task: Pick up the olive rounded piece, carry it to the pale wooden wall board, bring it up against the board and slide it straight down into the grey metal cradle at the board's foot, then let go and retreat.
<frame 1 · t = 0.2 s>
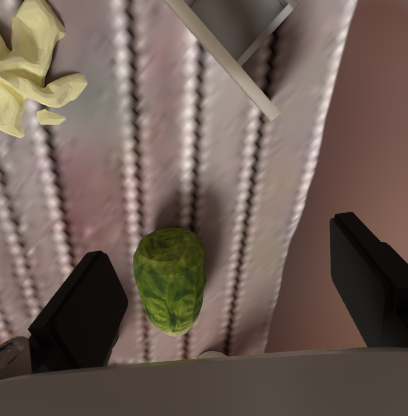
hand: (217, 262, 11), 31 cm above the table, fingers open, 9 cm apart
wall board holder: (235, 12, 32), on the table
cloth: (31, 71, 38), on the table
lettuce: (177, 266, 51), on the table
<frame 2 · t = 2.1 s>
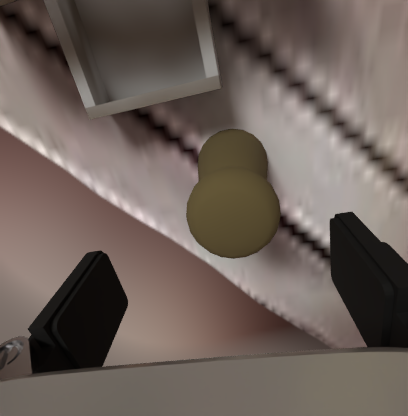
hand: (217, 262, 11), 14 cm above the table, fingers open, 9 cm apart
wall board holder: (145, 31, 19), on the table
olive rounded piece: (232, 163, 23), on the table
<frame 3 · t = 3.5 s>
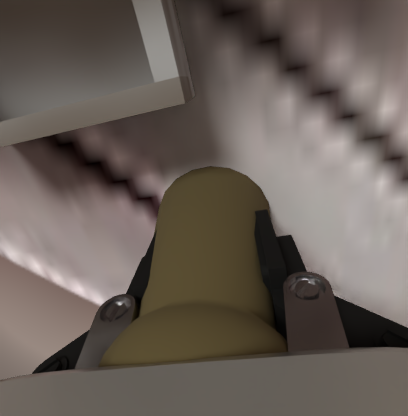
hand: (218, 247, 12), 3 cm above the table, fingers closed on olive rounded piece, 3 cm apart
olive rounded piece: (214, 218, 15), on the table, touching gripper
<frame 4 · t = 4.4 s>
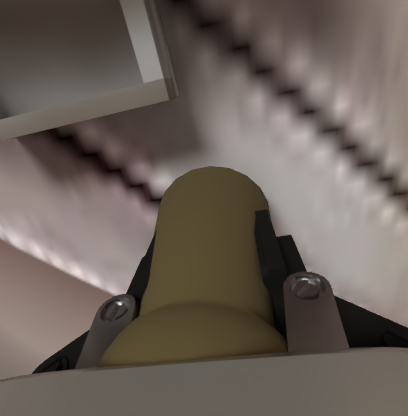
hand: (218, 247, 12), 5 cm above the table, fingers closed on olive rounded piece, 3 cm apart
wall board holder: (51, 8, 12), on the table
olive rounded piece: (213, 218, 15), point 2 cm above the table, touching gripper
when the fingers open (5 cm above the table, at t = 9.8 s): olive rounded piece drops 1 cm, resting on wall board holder.
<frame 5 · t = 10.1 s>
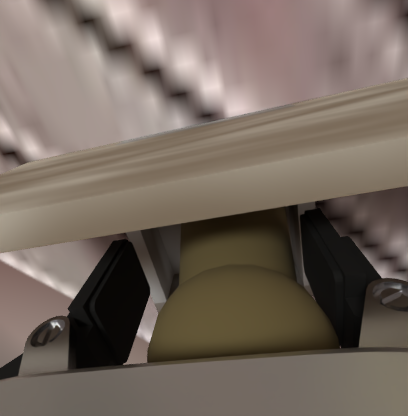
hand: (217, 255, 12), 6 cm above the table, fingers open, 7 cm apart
wall board holder: (220, 206, 17), on the table
olive rounded piece: (232, 207, 16), point 1 cm above the table, touching wall board holder
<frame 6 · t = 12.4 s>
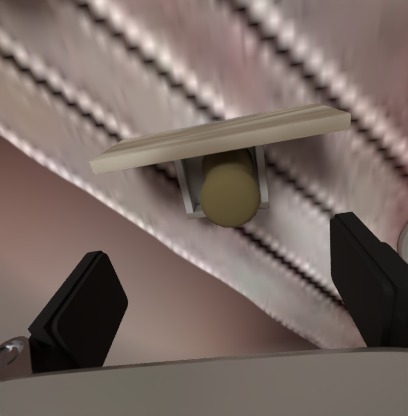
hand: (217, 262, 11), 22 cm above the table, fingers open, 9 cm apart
wall board holder: (221, 165, 32), on the table
olive rounded piece: (227, 165, 31), point 1 cm above the table, touching wall board holder
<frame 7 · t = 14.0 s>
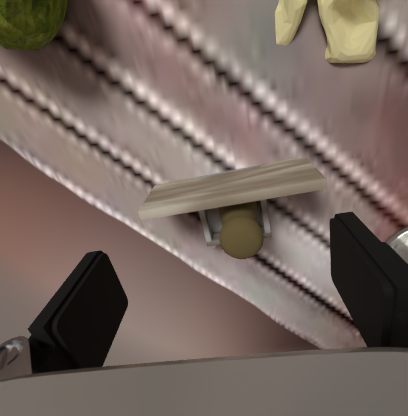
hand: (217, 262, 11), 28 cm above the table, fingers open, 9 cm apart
wall board holder: (232, 203, 41), on the table
olive rounded piece: (237, 203, 40), point 1 cm above the table, touching wall board holder
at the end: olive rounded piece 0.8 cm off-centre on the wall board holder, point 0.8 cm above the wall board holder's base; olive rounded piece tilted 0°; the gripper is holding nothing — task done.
